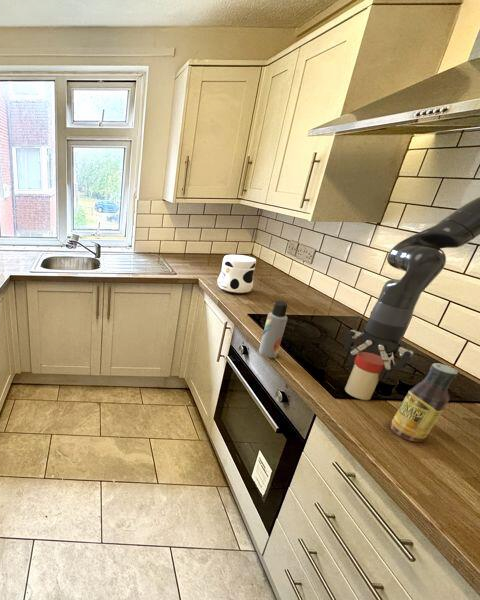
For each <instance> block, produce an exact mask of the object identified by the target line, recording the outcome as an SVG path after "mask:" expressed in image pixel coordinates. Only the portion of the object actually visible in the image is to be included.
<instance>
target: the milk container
mask: <svg viewBox="0 0 480 600" xmlns="http://www.w3.org/2000/svg"><path fill="white" fill-rule="evenodd" d="M256 265H257V259H256V258H255V257H252V256H249V255H244V254H226V255H224V257H223V259H222V265H221V270H220V274H218V278H217V287H218V288H219V289H221V291H224V292H226V293H231V294H238V295H239V294H241V295H242V294H248V293H249V292H251V291H252V290H253V287H254V274H255V271H256Z"/></svg>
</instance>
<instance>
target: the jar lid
mask: <svg viewBox="0 0 480 600" xmlns="http://www.w3.org/2000/svg"><path fill="white" fill-rule="evenodd" d="M354 364H355V365H356V366H357V367H359V368H361V369H363V370H366V371H368V372H372V373H381V372H382V370H383V368H385V366H384V362H383V361H382V358H381V356H379V355H377V354H375V353H373V352H369V351H361V352H359V353H357V355H356V357H355V360H354Z"/></svg>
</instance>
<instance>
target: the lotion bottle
mask: <svg viewBox="0 0 480 600" xmlns="http://www.w3.org/2000/svg"><path fill="white" fill-rule="evenodd" d="M288 305H289V304H288V302H287V301H284V300H274V302H273V306H272V310H271V312H268V314H267V317H266V320H265V325H264V329H263V333H262V337H261V341H260V345H259V349H258V353H259V355H261V356H262V357H265V358H267V359H274V358H277V357H278V353H279V350H280V347H281V344H282V343H281V342H282V340H283V335H284V332H285V329H286V325H287V322H288V316H287V314H286V313H287V310H288Z"/></svg>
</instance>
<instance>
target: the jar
mask: <svg viewBox="0 0 480 600" xmlns="http://www.w3.org/2000/svg"><path fill="white" fill-rule="evenodd" d="M380 374H381V373H372V372H368V371H366V370H363V369H361V368H359V367H357V366H356V365H355V364H354V366H353V367H352V369H351V371H350V374H349V376H348V379H347V382H346V385H345V387H344V391H345V392H346V394H348V395H349V396H351V397H353V398H355V399H358V400H361V401H369V400H371V399H372V397H373V395H374V392H375V390H376V388H377V385H378V384H379V381H380V379H379V377H380Z"/></svg>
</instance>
